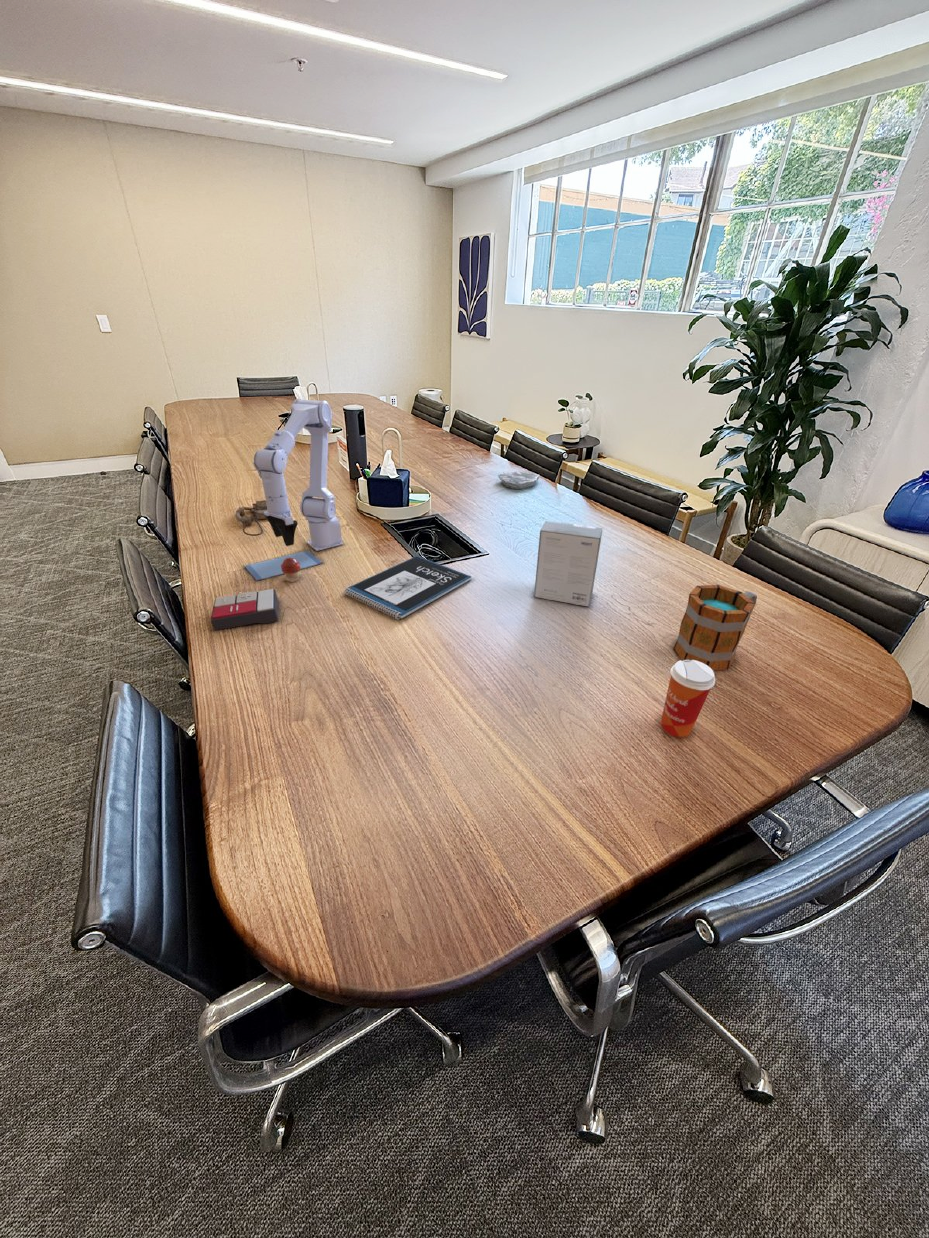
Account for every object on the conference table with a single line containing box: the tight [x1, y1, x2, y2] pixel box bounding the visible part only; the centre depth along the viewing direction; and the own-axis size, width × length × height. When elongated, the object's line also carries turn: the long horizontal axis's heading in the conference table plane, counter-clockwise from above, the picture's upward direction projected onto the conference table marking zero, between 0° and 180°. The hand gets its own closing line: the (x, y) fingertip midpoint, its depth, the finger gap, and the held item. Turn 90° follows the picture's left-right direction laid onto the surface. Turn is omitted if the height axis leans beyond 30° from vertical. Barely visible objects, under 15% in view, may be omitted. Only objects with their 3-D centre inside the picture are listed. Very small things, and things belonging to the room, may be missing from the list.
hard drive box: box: [533, 520, 604, 607], centre depth 137 cm, size 16×8×20 cm, turn 71°
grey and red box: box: [210, 588, 279, 631], centre depth 130 cm, size 11×4×15 cm
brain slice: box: [497, 470, 541, 490], centre depth 227 cm, size 20×17×3 cm
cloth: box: [244, 549, 323, 582], centre depth 155 cm, size 20×11×1 cm, turn 127°
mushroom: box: [281, 557, 302, 583], centre depth 146 cm, size 5×5×7 cm
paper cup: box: [660, 659, 716, 738], centre depth 96 cm, size 8×8×14 cm
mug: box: [672, 584, 758, 671], centre depth 118 cm, size 20×14×15 cm
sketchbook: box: [343, 555, 472, 621], centre depth 144 cm, size 22×30×2 cm
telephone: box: [235, 499, 267, 537], centre depth 183 cm, size 15×33×4 cm, turn 23°
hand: (284, 540), depth 147 cm, fingers open, 7 cm apart
